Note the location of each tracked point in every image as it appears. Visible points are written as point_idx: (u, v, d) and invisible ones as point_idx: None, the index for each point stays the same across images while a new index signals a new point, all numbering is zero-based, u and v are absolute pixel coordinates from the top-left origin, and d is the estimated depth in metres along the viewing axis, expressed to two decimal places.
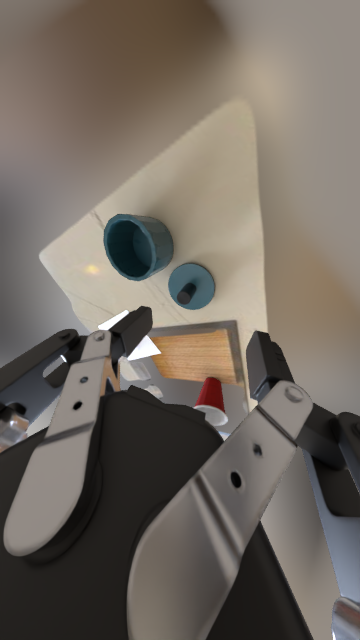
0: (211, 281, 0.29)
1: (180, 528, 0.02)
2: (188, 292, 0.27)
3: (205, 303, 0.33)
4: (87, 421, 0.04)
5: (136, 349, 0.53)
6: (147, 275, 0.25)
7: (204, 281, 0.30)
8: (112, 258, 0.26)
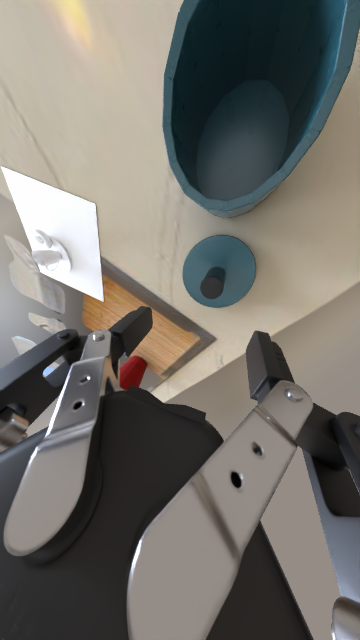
0: (244, 292, 0.21)
1: (180, 528, 0.02)
2: (223, 287, 0.17)
3: (212, 305, 0.24)
4: (87, 421, 0.04)
5: (66, 270, 0.32)
6: (212, 205, 0.11)
7: (238, 285, 0.21)
8: (182, 54, 0.08)
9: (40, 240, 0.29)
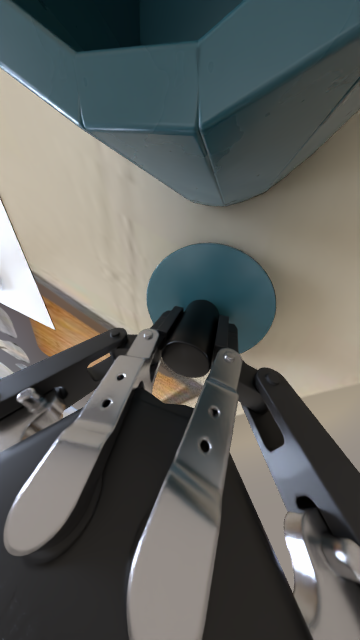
0: (252, 343, 0.12)
1: (180, 528, 0.02)
2: (211, 359, 0.08)
3: None
4: (106, 426, 0.04)
5: None
6: (113, 104, 0.02)
7: (242, 331, 0.12)
8: None
9: None
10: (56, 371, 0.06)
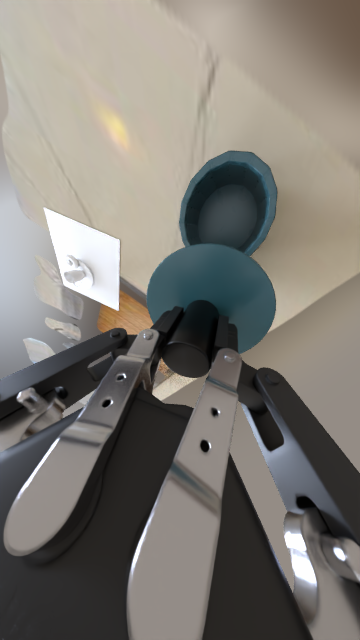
0: (252, 343, 0.12)
1: (180, 528, 0.02)
2: (211, 360, 0.08)
3: None
4: (106, 426, 0.04)
5: (89, 285, 0.39)
6: None
7: (242, 331, 0.12)
8: (192, 194, 0.15)
9: (69, 262, 0.35)
10: (56, 371, 0.06)
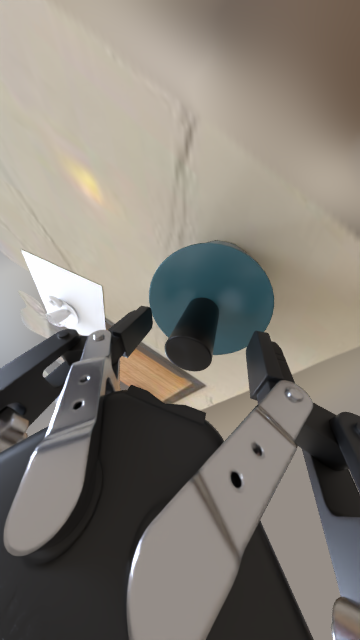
0: None
1: (180, 528, 0.02)
2: (212, 353, 0.08)
3: None
4: (87, 421, 0.04)
5: (74, 323, 0.36)
6: None
7: (241, 328, 0.12)
8: None
9: (52, 302, 0.33)
10: (4, 386, 0.05)
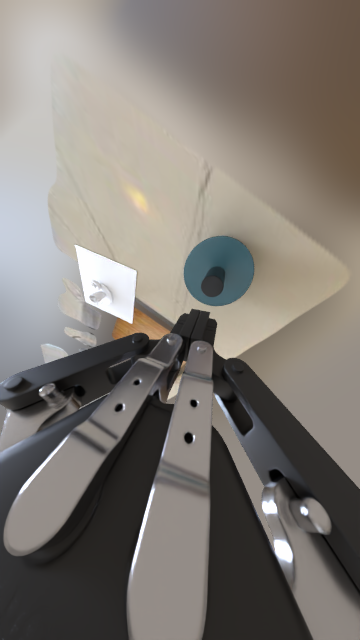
0: (243, 291, 0.22)
1: (180, 528, 0.02)
2: (223, 286, 0.18)
3: (212, 303, 0.25)
4: (114, 434, 0.04)
5: (108, 303, 0.46)
6: None
7: (237, 284, 0.22)
8: None
9: (93, 285, 0.43)
10: (77, 370, 0.06)
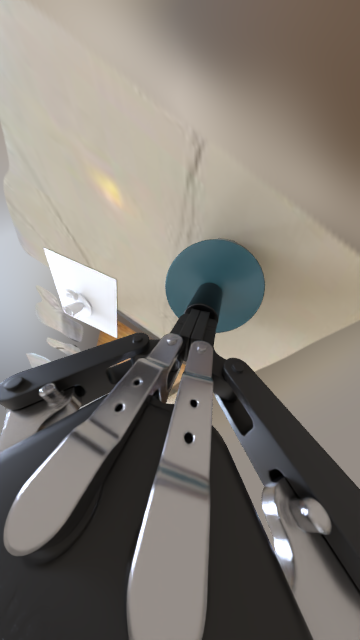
0: (247, 317, 0.16)
1: (180, 528, 0.02)
2: (218, 318, 0.11)
3: None
4: (114, 435, 0.04)
5: (88, 315, 0.40)
6: None
7: (240, 307, 0.15)
8: None
9: (69, 295, 0.36)
10: (77, 370, 0.06)
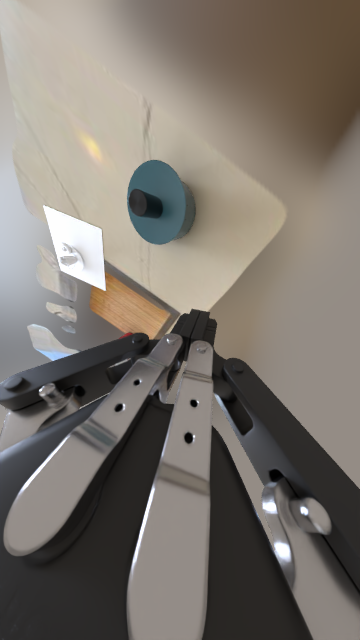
0: (181, 222, 0.23)
1: (180, 528, 0.02)
2: (148, 202, 0.19)
3: (158, 241, 0.26)
4: (114, 434, 0.04)
5: (80, 269, 0.47)
6: None
7: (174, 215, 0.23)
8: None
9: (64, 249, 0.44)
10: (77, 370, 0.06)
